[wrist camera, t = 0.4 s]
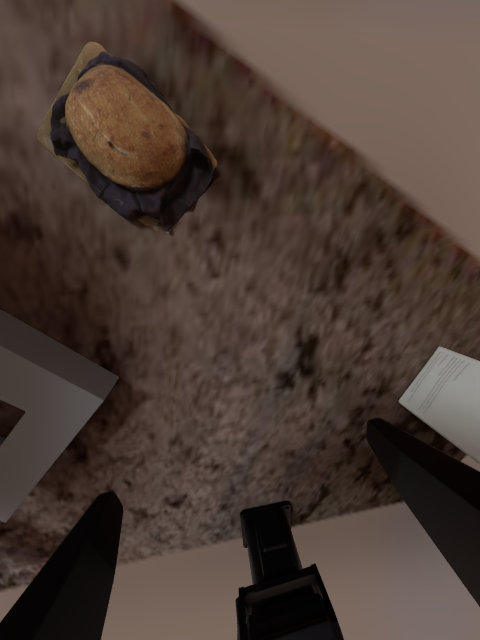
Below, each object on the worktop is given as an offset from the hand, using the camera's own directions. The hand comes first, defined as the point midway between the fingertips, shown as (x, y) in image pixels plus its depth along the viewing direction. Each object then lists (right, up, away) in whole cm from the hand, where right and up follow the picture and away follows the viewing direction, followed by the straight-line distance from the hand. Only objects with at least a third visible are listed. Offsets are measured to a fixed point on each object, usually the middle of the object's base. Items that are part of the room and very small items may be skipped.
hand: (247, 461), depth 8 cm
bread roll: (-8, +17, +9) cm, 21 cm away
